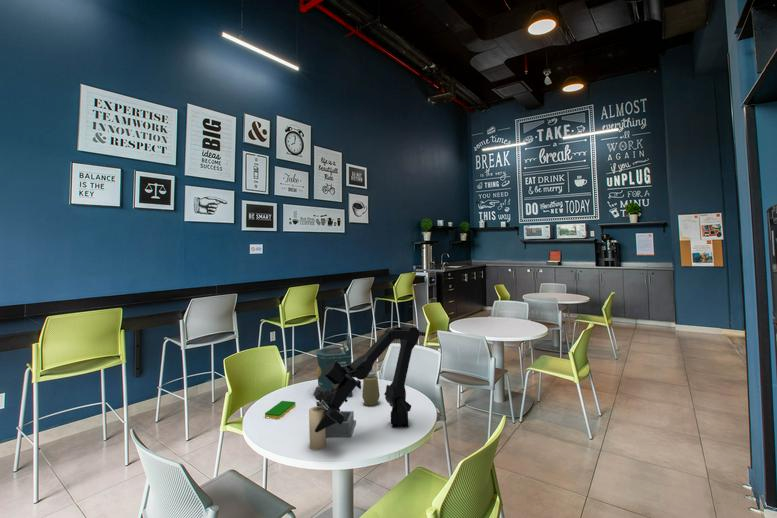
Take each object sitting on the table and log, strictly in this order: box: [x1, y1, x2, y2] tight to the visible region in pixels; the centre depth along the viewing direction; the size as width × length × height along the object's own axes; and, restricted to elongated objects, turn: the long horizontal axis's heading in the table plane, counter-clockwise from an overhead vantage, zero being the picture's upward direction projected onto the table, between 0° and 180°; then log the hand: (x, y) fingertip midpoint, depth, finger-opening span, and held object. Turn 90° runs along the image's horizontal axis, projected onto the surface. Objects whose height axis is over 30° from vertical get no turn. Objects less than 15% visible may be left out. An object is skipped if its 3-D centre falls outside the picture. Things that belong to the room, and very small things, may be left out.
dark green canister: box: [316, 332, 353, 398], centre depth 178 cm, size 16×16×28 cm
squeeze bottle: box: [361, 368, 381, 407], centre depth 164 cm, size 8×8×18 cm
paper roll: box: [308, 405, 327, 451], centre depth 128 cm, size 6×6×13 cm
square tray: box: [325, 410, 357, 438], centre depth 140 cm, size 12×12×5 cm
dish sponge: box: [264, 400, 297, 420], centre depth 158 cm, size 7×14×2 cm, turn 166°
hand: (313, 428), depth 128 cm, fingers closed on paper roll, 6 cm apart
